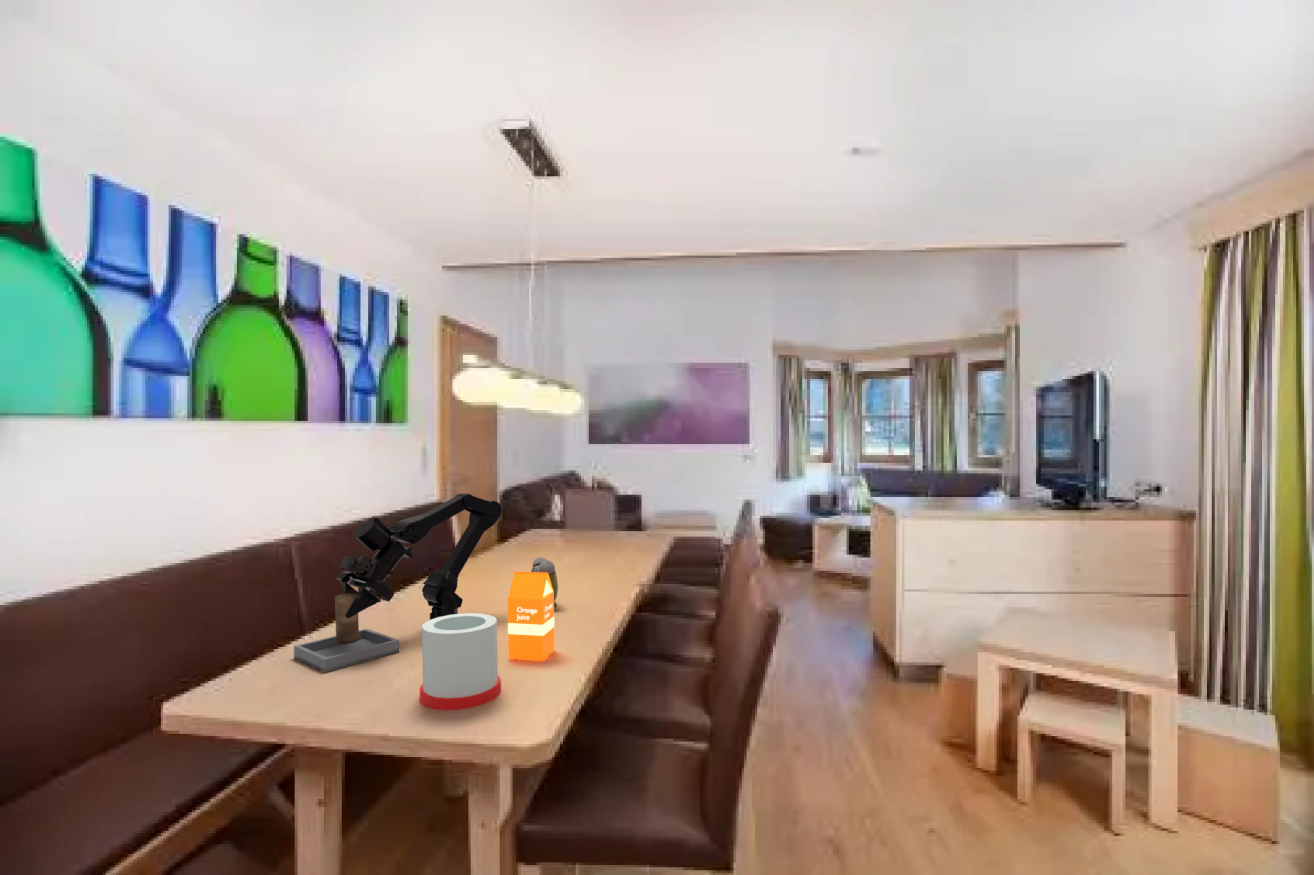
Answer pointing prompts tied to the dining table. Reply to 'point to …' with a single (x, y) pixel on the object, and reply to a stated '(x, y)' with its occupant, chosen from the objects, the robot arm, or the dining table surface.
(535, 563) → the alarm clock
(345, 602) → the brown upright cylinder
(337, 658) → the tray
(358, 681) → the dining table surface
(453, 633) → the container
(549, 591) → the orange juice
